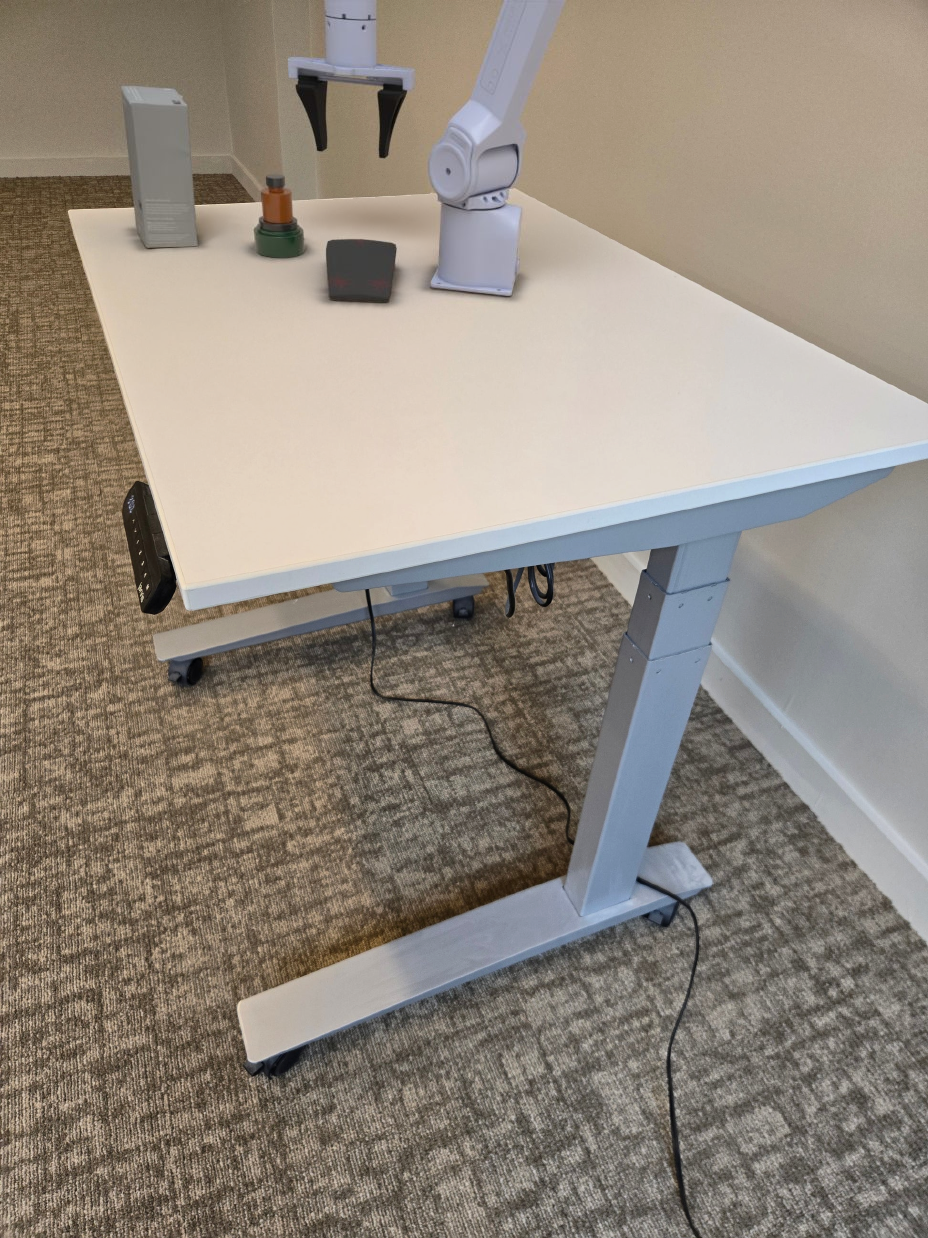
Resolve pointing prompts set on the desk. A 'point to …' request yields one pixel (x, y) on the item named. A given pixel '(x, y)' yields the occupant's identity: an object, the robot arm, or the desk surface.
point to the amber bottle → (276, 200)
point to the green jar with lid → (279, 239)
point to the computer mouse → (360, 269)
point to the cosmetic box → (160, 166)
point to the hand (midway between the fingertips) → (352, 152)
